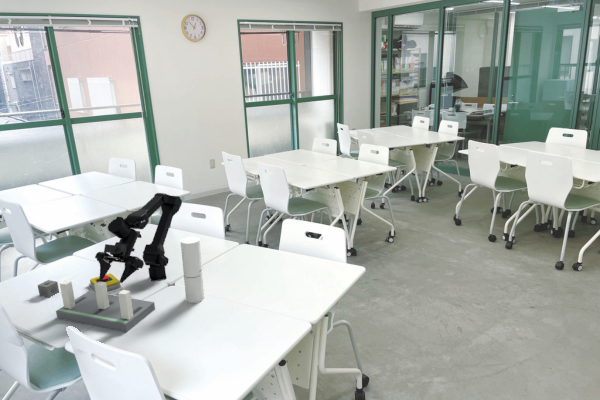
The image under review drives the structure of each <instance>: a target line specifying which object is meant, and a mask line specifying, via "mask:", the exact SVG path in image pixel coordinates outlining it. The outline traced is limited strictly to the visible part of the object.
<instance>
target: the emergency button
mask: <svg viewBox="0 0 600 400" xmlns="http://www.w3.org/2000/svg"><path fill="white" fill-rule="evenodd" d="M89 282H90V283H89V286H90V287H91V288H92V289H93V290H94V291H95V285H94V284H96V283H98V282H106V286H107V292H108V295H110V294H112V293H115V292H118V291H122V290H124V288H123V287H122V285H121V283H120V279H118V278H117V277H116V276H114V274H113V273H106V275H105V276H104V278H103V279H102V280H100V275H99V276H97V277H93V278H90V281H89Z"/></svg>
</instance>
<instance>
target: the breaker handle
mask: <svg viewBox="0 0 600 400" xmlns="http://www.w3.org/2000/svg"><path fill="white" fill-rule="evenodd" d="M94 285H95V290H94V292H96V298H97V304H98V308H99V309H106V308H108V307H109V299H108V295H109V294H108V292H107V286H106V282H98V283H96V284H94Z"/></svg>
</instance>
